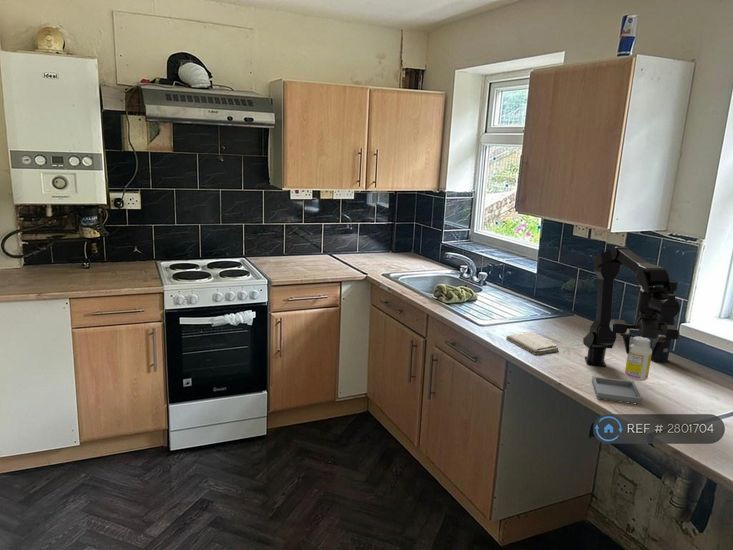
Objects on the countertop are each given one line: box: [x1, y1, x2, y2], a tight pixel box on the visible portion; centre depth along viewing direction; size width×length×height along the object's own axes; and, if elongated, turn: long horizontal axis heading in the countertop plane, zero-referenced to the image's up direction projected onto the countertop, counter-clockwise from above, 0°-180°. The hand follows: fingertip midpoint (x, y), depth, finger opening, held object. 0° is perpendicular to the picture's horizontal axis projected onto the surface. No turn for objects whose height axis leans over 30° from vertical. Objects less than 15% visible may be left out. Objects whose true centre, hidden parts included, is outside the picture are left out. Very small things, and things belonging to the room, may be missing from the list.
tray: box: [591, 375, 643, 405], centre depth 173 cm, size 13×13×2 cm
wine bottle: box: [649, 279, 679, 364], centre depth 197 cm, size 6×6×30 cm
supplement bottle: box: [624, 336, 652, 382], centre depth 171 cm, size 7×7×13 cm
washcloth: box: [505, 331, 559, 355], centre depth 211 cm, size 12×18×3 cm, turn 26°
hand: (639, 354), depth 171 cm, fingers closed on supplement bottle, 7 cm apart
